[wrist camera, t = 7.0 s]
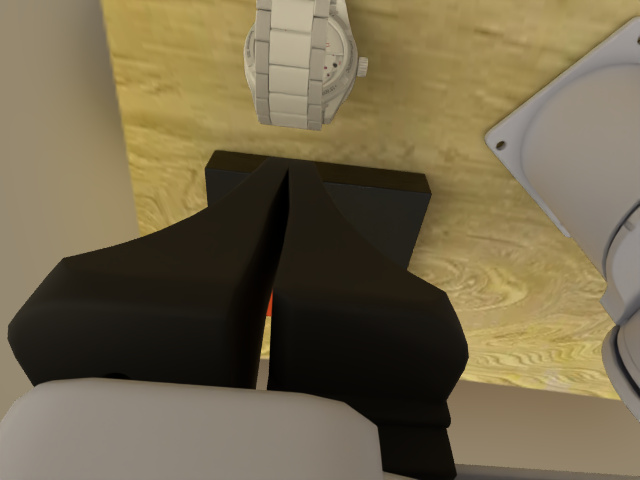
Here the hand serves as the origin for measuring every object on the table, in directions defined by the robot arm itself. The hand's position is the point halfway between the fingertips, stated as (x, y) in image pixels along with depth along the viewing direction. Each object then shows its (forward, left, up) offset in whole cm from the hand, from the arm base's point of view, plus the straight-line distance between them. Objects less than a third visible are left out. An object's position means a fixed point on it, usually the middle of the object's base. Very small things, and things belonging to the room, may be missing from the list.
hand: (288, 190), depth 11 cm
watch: (+7, -8, -9) cm, 14 cm away
